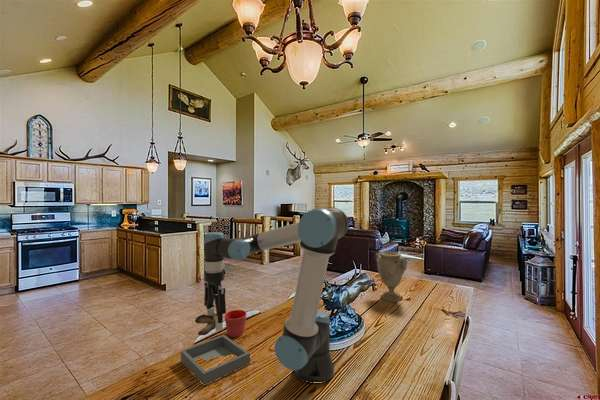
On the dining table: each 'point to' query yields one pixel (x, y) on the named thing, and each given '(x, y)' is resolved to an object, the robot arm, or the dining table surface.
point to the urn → (391, 273)
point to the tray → (214, 349)
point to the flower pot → (235, 322)
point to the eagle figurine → (206, 319)
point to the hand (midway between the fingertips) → (214, 327)
